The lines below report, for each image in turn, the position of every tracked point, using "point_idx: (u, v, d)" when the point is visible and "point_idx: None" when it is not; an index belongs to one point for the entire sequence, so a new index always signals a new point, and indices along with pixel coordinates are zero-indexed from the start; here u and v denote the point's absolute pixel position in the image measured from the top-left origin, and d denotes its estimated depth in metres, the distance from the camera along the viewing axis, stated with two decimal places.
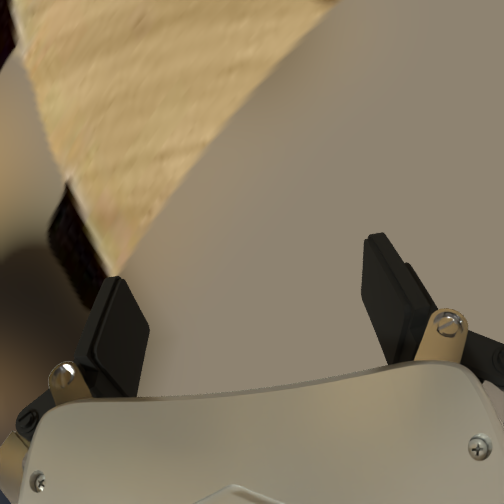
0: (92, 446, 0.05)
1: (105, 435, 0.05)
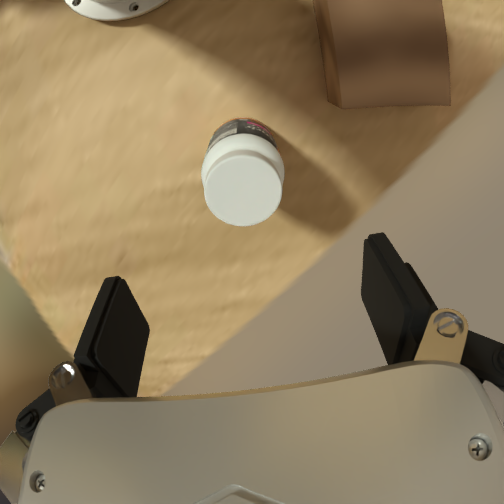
0: (92, 446, 0.05)
1: (105, 435, 0.05)
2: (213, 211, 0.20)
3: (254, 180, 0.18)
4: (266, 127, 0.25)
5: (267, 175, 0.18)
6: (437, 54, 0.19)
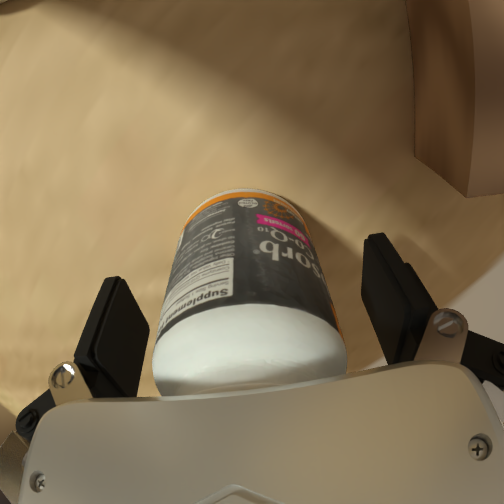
0: (92, 446, 0.05)
1: (105, 435, 0.05)
2: None
3: None
4: (296, 214, 0.12)
5: None
6: None
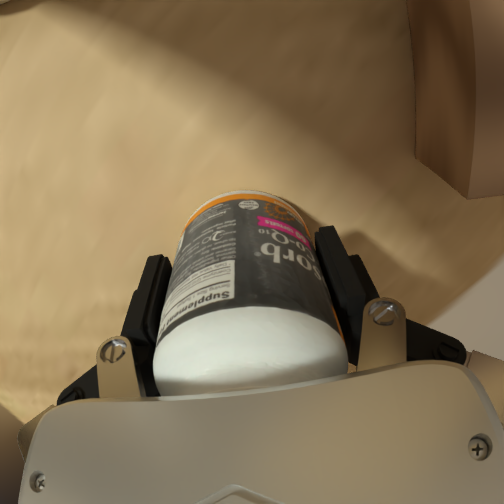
0: (92, 446, 0.05)
1: (105, 435, 0.05)
2: None
3: None
4: (296, 216, 0.12)
5: None
6: None
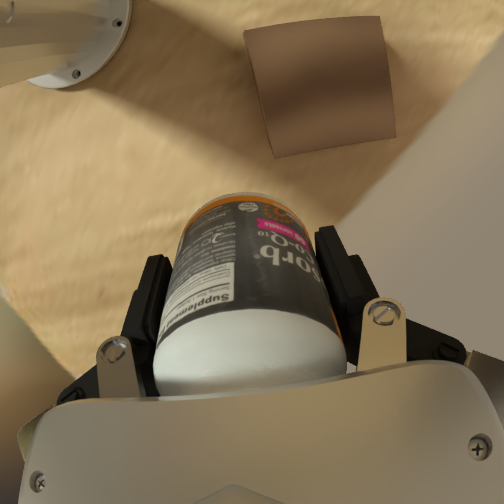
0: (92, 446, 0.05)
1: (105, 435, 0.05)
2: None
3: None
4: (296, 218, 0.12)
5: None
6: (377, 85, 0.20)
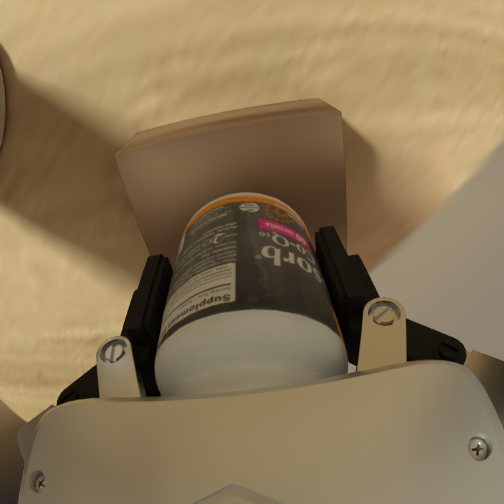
0: (92, 446, 0.05)
1: (105, 435, 0.05)
2: None
3: None
4: (297, 218, 0.12)
5: None
6: (324, 226, 0.16)
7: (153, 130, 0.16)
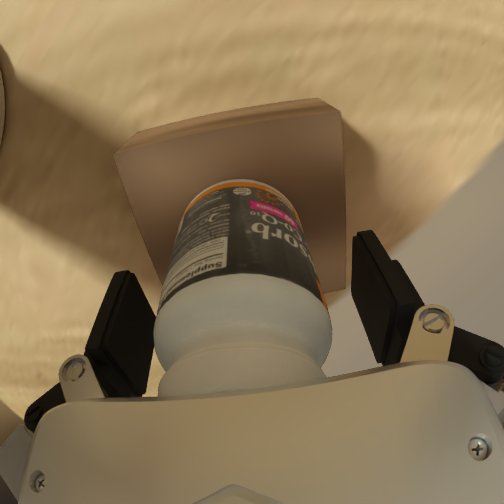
0: (92, 446, 0.05)
1: (105, 435, 0.05)
2: None
3: None
4: (287, 202, 0.13)
5: None
6: (323, 226, 0.16)
7: (152, 130, 0.16)
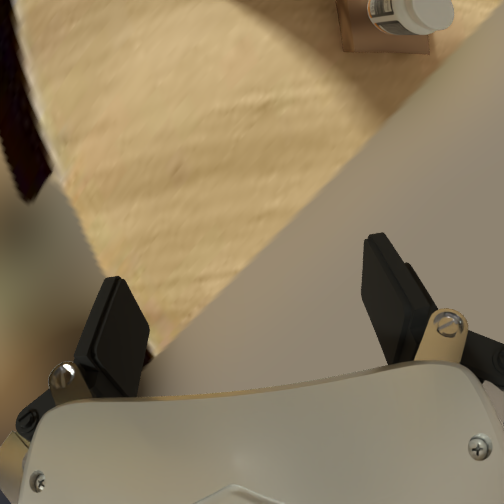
0: (92, 446, 0.05)
1: (105, 435, 0.05)
2: (416, 12, 0.18)
3: (440, 0, 0.17)
4: None
5: (446, 0, 0.17)
6: None
7: None
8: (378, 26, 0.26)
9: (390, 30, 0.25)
